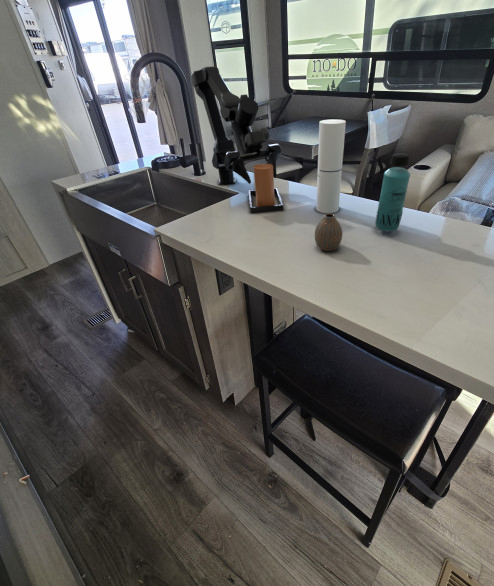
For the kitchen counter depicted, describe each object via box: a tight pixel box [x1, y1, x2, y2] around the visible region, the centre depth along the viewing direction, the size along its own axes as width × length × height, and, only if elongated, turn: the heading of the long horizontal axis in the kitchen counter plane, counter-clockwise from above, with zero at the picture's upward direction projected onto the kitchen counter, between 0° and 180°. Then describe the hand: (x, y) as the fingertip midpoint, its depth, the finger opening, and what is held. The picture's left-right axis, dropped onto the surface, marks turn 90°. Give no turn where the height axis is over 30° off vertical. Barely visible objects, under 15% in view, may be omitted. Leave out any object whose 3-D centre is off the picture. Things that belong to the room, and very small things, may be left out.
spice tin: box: [253, 163, 276, 207], centre depth 100 cm, size 6×6×13 cm
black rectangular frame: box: [247, 187, 284, 214], centre depth 106 cm, size 17×11×2 cm, turn 6°
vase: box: [314, 213, 343, 252], centre depth 77 cm, size 7×7×9 cm
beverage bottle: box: [374, 153, 411, 232], centre depth 80 cm, size 6×7×20 cm
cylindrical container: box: [315, 118, 346, 214], centre depth 93 cm, size 7×7×25 cm
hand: (263, 180), depth 99 cm, fingers open, 9 cm apart
